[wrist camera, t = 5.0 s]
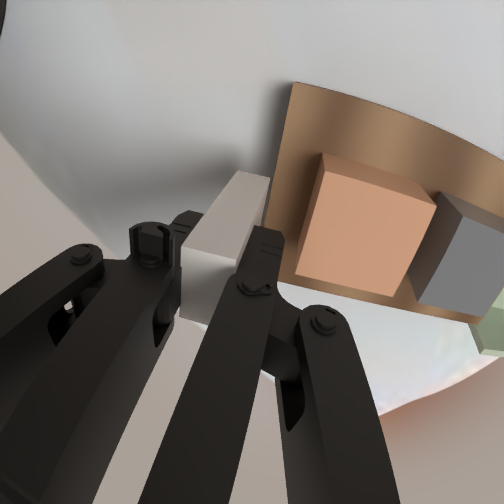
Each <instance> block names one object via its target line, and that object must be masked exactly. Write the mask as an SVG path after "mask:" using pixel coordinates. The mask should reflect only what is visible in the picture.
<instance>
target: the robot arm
mask: <svg viewBox="0 0 504 504" xmlns="http://www.w3.org/2000/svg"><path fill="white" fill-rule="evenodd" d="M4 10H5V0H0V32H1V27H2V23H3V17H4ZM269 182H270V177H265V176H261V175H256V174H252V173H247V172H243V171H237V172H236V173H235V175H234V176H233V177H232V178H231V180H230V181H229V182H228V184H227V185H226V186H225V187H224V189H223V190H222V191H221V193H220V194H219V195H218V197H217V198H216V199H215V201H214V202H213V203H212V205H211V206H210V207H209V209H208V210H207V211H206V213H205V214H202V213H198V212H193V211H189V210H188V211H186V212H184V213H182V214H179V215H178V216H177V217H176V218H175V219H174V220H173V221H172V224H170V225H169V226H168V225H166V224H163V223H160V222H142V223H139V224H136V225H134V226H132V227H131V228H129V237H130V252H131V254H130V255H129V256H128V257H127V259H126V260H113V259H103V254H102V250H101V249H100V248H99V247H98V246H96V245H93V244H78V245H75V246H72V247H70V248H68V249H67V250H65V251H63V252H62V253H60V254H59V255H57V256H56V257H54V258H53V259H51V260H50V261H48V262H46V263H45V264H44V265H42V266H40V267H39V268H38V269H36V270H35V271H33V272H32V273H30V274H29V275H27V276H26V277H24V278H23V279H22V280H20V281H19V282H17V283H16V284H15V285H13V286H12V287H10V288H9V289H8V290H6V291H5V292H4V293H2V294H1V295H0V504H92V503H93V500H94V498H95V496H96V493H97V491H98V488H99V486H100V484H101V481H102V479H103V477H104V475H105V472H106V470H107V468H108V465H109V463H110V461H111V458H112V456H113V454H114V452H115V450H116V447H117V445H118V443H119V441H120V438H121V436H122V434H123V432H124V430H125V427H126V425H127V423H128V421H129V419H130V417H131V415H132V412H133V410H134V408H135V406H136V404H137V402H138V400H139V398H140V395H141V393H142V391H143V389H144V387H145V385H146V383H147V381H148V379H149V377H150V375H151V373H152V371H153V369H154V366H155V364H156V362H157V360H158V358H159V356H160V354H161V352H162V350H163V348H164V346H165V344H166V342H167V340H168V338H169V336H170V334H171V332H172V330H173V327H174V315H175V313H176V311H177V310H178V308H179V306H180V311H179V316H180V317H182V318H185V319H188V320H192V321H195V322H199V323H202V324H206V325H209V326H208V328H207V331H206V333H205V335H204V338H203V340H202V343H201V345H200V348H199V350H198V353H197V355H196V358H195V360H194V362H193V365H192V367H191V370H190V372H189V375H188V378H187V380H186V382H185V385H184V387H183V390H182V392H181V395H180V398H179V400H178V403H177V405H176V407H175V410H174V412H173V415H172V417H171V420H170V422H169V425H168V427H167V430H166V432H165V435H164V438H163V440H162V443H161V445H160V448H159V450H158V453H157V455H156V458H155V460H154V463H153V465H152V468H151V471H150V473H149V476H148V478H147V481H146V484H145V486H144V489H143V491H142V494H141V496H140V499H139V502H138V504H228V503H229V500H230V496H231V492H232V488H233V484H234V481H235V477H236V473H237V469H238V465H239V461H240V457H241V453H242V449H243V444H244V440H245V436H246V432H247V428H248V423H249V419H250V415H251V411H252V406H253V402H254V398H255V393H256V389H257V384H258V380H259V375H260V371H261V369H262V370H263V371H265V372H267V373H269V374H270V375H272V376H274V377H275V386H276V394H277V404H278V413H279V422H280V431H281V439H282V449H283V459H284V468H285V478H286V487H287V497H288V504H400V500H399V495H398V491H397V486H396V482H395V478H394V474H393V470H392V465H391V461H390V457H389V453H388V450H387V446H386V443H385V438H384V435H383V432H382V428H381V424H380V421H379V417H378V414H377V410H376V407H375V403H374V400H373V397H372V394H371V390H370V387H369V384H368V381H367V377H366V374H365V371H364V368H363V365H362V362H361V359H360V356H359V353H358V350H357V347H356V344H355V341H354V338H353V335H352V332H351V330H350V327H349V324H348V322H347V321H346V319H345V317H344V316H343V315H342V314H341V313H339V312H338V311H337V310H335V309H333V308H331V307H329V306H324V305H310V306H308V307H306V308H304V309H303V310H301V309H299V308H297V307H295V306H293V305H291V304H290V303H288V302H287V301H286V300H285V299H283V298H282V296H281V295H280V293H279V291H278V288H277V281H278V276H279V271H280V266H281V260H282V255H283V249H284V244H285V238H284V236H283V234H282V232H281V231H277V230H273V229H269V228H265V227H261V226H260V225H261V220H262V215H263V211H264V206H265V201H266V197H267V192H268V187H269ZM70 300H71V303H72V306H73V307H72V308H71V309H69V310H65V308H64V305H65V304H67V303H68V302H69V301H70Z"/></svg>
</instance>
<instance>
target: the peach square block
mask: <svg viewBox="0 0 504 504" xmlns="http://www.w3.org/2000/svg"><path fill="white" fill-rule="evenodd" d="M436 207H437V206H436V204H435V203H434V202H433V201H432V199H431V198H430V197H429V196H428V195H427V193H426V192H425V191H424V190H423V189H422V188H421V186H420V185H419V184H418V183H417V182H416V181H413V180H410V179H407V178H405V177H402V176H399V175H396V174H393V173H390V172H387V171H384V170H381V169H378V168H375V167H371V166H368V165H365V164H362V163H358V162H355V161H352V160H348V159H345V158H341V157H337V156H334V155H330V154H326V153H323V152H322V156H321V160H320V164H319V168H318V172H317V176H316V179H315V183H314V187H313V191H312V194H311V198H310V202H309V205H308V209H307V212H306V216H305V220H304V223H303V227H302V230H301V234H300V237H299V241H298V250H297V259H296V268H295V274H297V275H301V276H305V277H309V278H313V279H318V280H322V281H326V282H330V283H334V284H339V285H343V286H347V287H351V288H356V289H360V290H364V291H369V292H373V293H377V294H382V295H386V296H390V297H393V295H394V294H395V292H396V290H397V288H398V286H399V284H400V283H401V281H402V279H403V277H404V275H405V273H406V271H407V269H408V267H409V265H410V263H411V262H412V260H413V258H414V256H415V253H416V251H417V249H418V247H419V245H420V243H421V241H422V239H423V237H424V235H425V232H426V230H427V228H428V226H429V224H430V221H431V219H432V217H433V214H434V212H435V210H436Z"/></svg>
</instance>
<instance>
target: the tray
mask: <svg viewBox="0 0 504 504" xmlns="http://www.w3.org/2000/svg"><path fill="white" fill-rule="evenodd" d="M468 325H469V328H470V330H471V333H472V335H473V338H474V340H475V343H476V346H477V348H478V351H479V354H481V355H490V356H499V357H504V288H503V289H502V291H501V293H500V294H499V296H498V297H497V299H496V300H495V302H494V303H493V305H492V306H491V307H490V309H489V310H488V312H487V313H486V314H485V316H484V317H483V319H482V320H481V321H480V323H479V324H478V325H475V324H469V323H468Z"/></svg>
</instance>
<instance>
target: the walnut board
mask: <svg viewBox="0 0 504 504" xmlns="http://www.w3.org/2000/svg"><path fill="white" fill-rule="evenodd" d="M322 152H323V153H326V154H330V155H334V156H337V157H341V158H345V159H348V160H352V161H355V162H358V163H362V164H365V165H368V166H371V167H375V168H378V169H381V170H384V171H387V172H390V173H393V174H396V175H399V176H402V177H405V178H407V179H410V180H413V181H416V182H417V183H418V184H419V185H420V186H421V188H422V189H423V190H424V191H425V192H426V193H427V195H428V196H429V197H430V198H431V199H432V201H433V202H434V203H435V202H436V200H437V197H438V195H439V192H440V191H442V192H445V193H447V194H450V195H452V196H455V197H457V198H459V199H462V200H464V201H466V202H469V203H471V204H473V205H476V206H478V207H480V208H482V209H484V210H487V211H489V212H491V213H493V214H495V215H497V216H499V217H501V218H503V219H504V161H503V160H501V159H499V158H497V157H496V156H494V155H492V154H490V153H488V152H487V151H485V150H483V149H481V148H479V147H477V146H475V145H474V144H472V143H470V142H468V141H466V140H464V139H462V138H460V137H458V136H455V135H453V134H451V133H449V132H447V131H445V130H443V129H440V128H438V127H436V126H434V125H431V124H429V123H427V122H424V121H422V120H419V119H417V118H414V117H412V116H409V115H407V114H404V113H402V112H399V111H396V110H393V109H391V108H388V107H385V106H382V105H379V104H376V103H373V102H370V101H367V100H364V99H361V98H357V97H354V96H351V95H347V94H344V93H340V92H337V91H333V90H329V89H325V88H321V87H317V86H313V85H309V84H305V83H300V82H293V87H292V92H291V96H290V101H289V106H288V111H287V116H286V121H285V126H284V131H283V135H282V140H281V145H280V150H279V155H278V159H277V164H276V169H275V174H274V179H273V183H272V188H271V193H270V198H269V203H268V207H267V212H266V217H265V222H264V226H263V227H265V228H269V229H273V230H277V231H281V232H282V234H283V236H284V238H285V244H284V249H283V255H282V260H281V266H280V271H279V276H278V281H279V282H283V283H288V284H292V285H296V286H300V287H305V288H309V289H313V290H317V291H322V292H326V293H330V294H335V295H339V296H343V297H348V298H352V299H357V300H361V301H365V302H370V303H374V304H379V305H384V306H388V307H393V308H397V309H402V310H407V311H411V312H416V313H421V314H425V315H430V316H435V317H440V318H445V319H450V320H455V321H459V322H464V323H469V324H475V325H478V324H479V323H480V321H481V320H482V319H483V317H484V316H485V315H484V316H483V317H479V316H475V315H470V314H466V313H461V312H457V311H452V310H448V309H443V308H439V307H434V306H430V305H425V304H421V303H417V300H416V297H415V294H414V291H413V289H412V286H411V283H410V280H409V277H408V275H407V272H406V273H405V275H404V277H403V279H402V281H401V283H400V284H399V286H398V288H397V290H396V292H395V294H394V295H393V297H390V296H386V295H382V294H377V293H373V292H369V291H364V290H360V289H356V288H351V287H347V286H343V285H339V284H334V283H330V282H326V281H322V280H318V279H313V278H309V277H305V276H301V275H297V274H295V268H296V259H297V250H298V241H299V237H300V234H301V230H302V227H303V223H304V220H305V216H306V212H307V209H308V205H309V202H310V198H311V194H312V191H313V187H314V183H315V179H316V176H317V172H318V168H319V164H320V160H321V156H322ZM503 288H504V287H503ZM503 288H502V289H503ZM501 291H502V290H501ZM501 291H500V293H501ZM500 293H499V294H500ZM498 296H499V295H498ZM498 296H497V297H498ZM496 299H497V298H496ZM496 299H495V300H496ZM494 302H495V301H494ZM494 302H493V303H494ZM493 303H492V305H493ZM492 305H491V306H492ZM491 306H490V307H491ZM489 309H490V308H489ZM489 309H488V310H489ZM487 312H488V311H487ZM487 312H486V313H487ZM486 313H485V314H486Z"/></svg>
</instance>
